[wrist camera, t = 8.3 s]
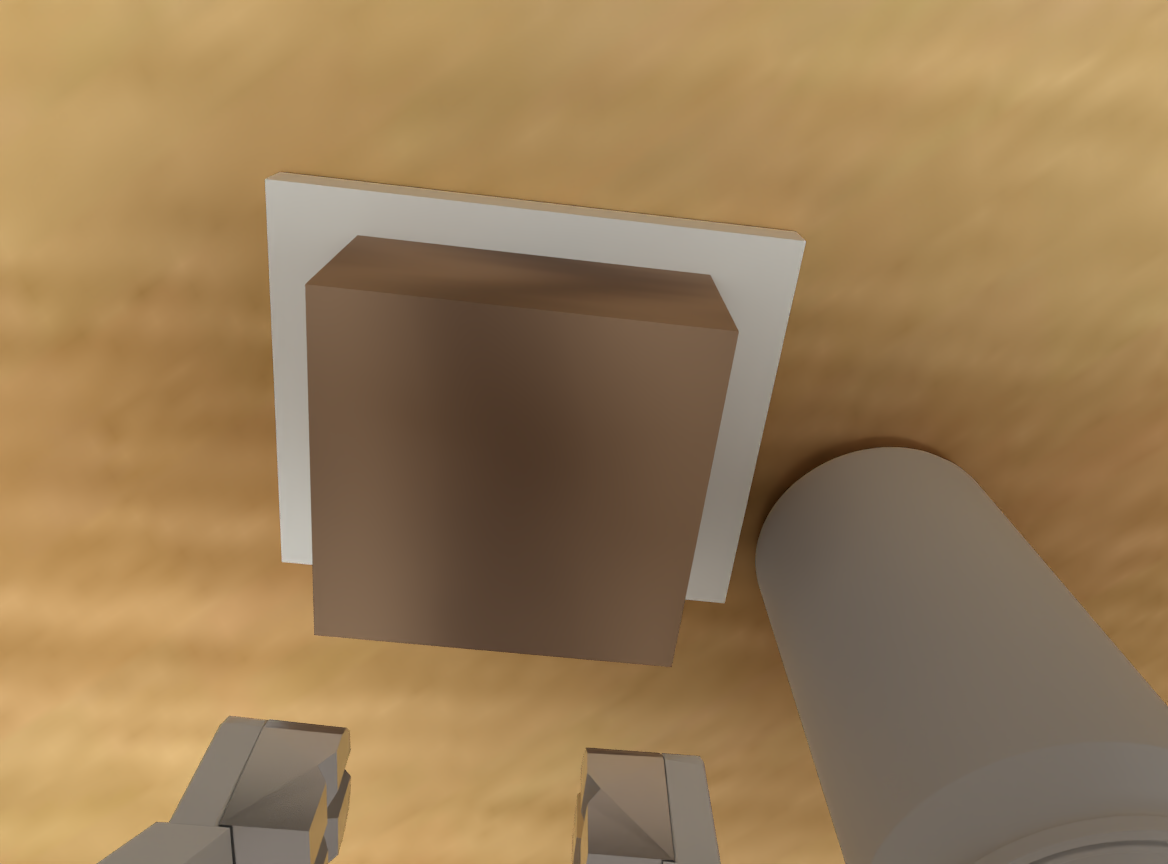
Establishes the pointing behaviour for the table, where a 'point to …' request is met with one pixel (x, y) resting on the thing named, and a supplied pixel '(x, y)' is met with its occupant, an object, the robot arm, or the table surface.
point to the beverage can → (954, 677)
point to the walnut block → (509, 448)
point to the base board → (725, 251)
